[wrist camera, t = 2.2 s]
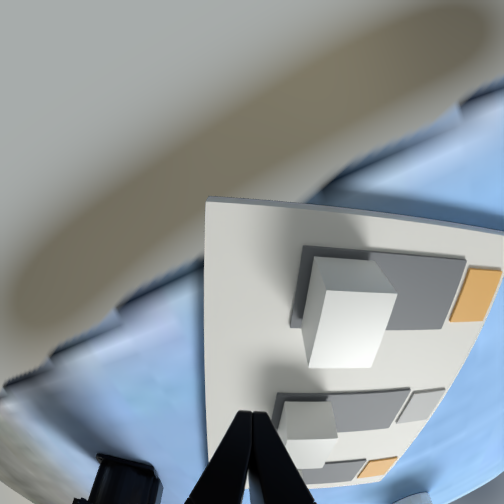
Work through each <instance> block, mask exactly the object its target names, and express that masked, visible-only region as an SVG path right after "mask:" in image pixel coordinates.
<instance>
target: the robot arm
mask: <svg viewBox="0 0 504 504" xmlns="http://www.w3.org/2000/svg"><path fill="white" fill-rule="evenodd" d="M96 459H97V460H98V462H99V463H100V466H99V469H98V472H97V475H96V478H95V481H94V484H93V487H92V490H91V493H90V496H89V499H88V501H87V500H86V499H84V498H82V497H81V499H77V498H74V500H73V503H72V504H160V503H161V497H162V492H163V486H162V483H161V481H160V479H159V478H158V476H157V474H156V471H155V469H154V468H153V467H152V466H148V465H143V464H138V463H134V462H129V461H125V460H121V459H117V458H113V457H109V456H106V455H102V454H97V455H96ZM247 474H248V481H249V491H250V501H251V504H317V503H316V502H314V498H313V496H312V495H311V493H310V491H309V489H308V488H307V486H306V484H305V482H304V480H303V479H302V477H301V475H300V473H299V471H298V470H297V468H296V466H295V464H294V462H293V460H292V459H291V457H290V455H289V453H288V451H287V449H286V448H285V446H284V444H283V442H282V440H281V438H280V436H279V434H278V432H277V430H276V429H275V427H274V425H273V423H272V421H271V419H270V417H269V415H268V413H267V412H265V411H253V413H252V412H251V411H248V410H239V411H238V412H237V413H236V415H235V417H234V419H233V421H232V422H231V424H230V426H229V428H228V430H227V431H226V433H225V435H224V437H223V439H222V440H221V442H220V444H219V446H218V447H217V449H216V451H215V453H214V454H213V456H212V458H211V460H210V461H209V463H208V465H207V467H206V468H205V470H204V472H203V473H202V475H201V477H200V479H199V480H198V482H197V484H196V485H195V487H194V489H193V490H192V492H191V494H190V495H189V497H190V498H187V500H186V501H185V503H184V504H242V500H243V495H244V490H245V485H246V480H247Z"/></svg>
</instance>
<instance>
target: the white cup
mask: <svg viewBox="0 0 504 504" xmlns="http://www.w3.org/2000/svg"><path fill="white" fill-rule="evenodd" d="M393 504H432V501H431V498H430V495H429V493H426V492H423V493H418V494H414V495H411V496H408V497H406V498H403V499H401V500H399V501H397V502H395V503H393Z"/></svg>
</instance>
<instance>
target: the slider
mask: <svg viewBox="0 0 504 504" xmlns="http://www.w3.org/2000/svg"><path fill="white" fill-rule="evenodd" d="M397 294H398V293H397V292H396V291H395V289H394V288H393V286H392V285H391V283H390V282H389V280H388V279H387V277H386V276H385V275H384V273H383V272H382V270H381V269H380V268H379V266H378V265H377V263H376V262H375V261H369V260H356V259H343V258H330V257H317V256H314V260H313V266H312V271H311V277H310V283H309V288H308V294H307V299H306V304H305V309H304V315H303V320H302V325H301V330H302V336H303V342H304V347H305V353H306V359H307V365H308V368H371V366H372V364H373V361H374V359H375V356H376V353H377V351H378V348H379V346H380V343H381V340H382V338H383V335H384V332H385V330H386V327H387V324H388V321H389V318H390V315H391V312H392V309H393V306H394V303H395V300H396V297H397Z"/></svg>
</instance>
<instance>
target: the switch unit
mask: <svg viewBox="0 0 504 504" xmlns="http://www.w3.org/2000/svg"><path fill="white" fill-rule="evenodd" d="M314 256H317V257H330V258H343V259H356V260H369V261H375V262H376V263H377V265H378V266H379V268H380V269H381V270H382V272H383V273H384V275H385V276H386V277H387V279H388V280H389V282H390V283H391V285H392V286H393V288H394V289H395V291H396V292H397V293H398V294H397V297H396V300H395V303H394V306H393V309H392V312H391V315H390V318H389V321H388V324H387V327H386V330H385V332H384V335H383V338H382V340H381V343H380V346H379V348H378V351H377V353H376V356H375V359H374V361H373V364H372V366H371V368H308V365H307V359H306V353H305V347H304V342H303V336H302V330H301V325H302V320H303V315H304V309H305V304H306V299H307V294H308V288H309V283H310V277H311V271H312V266H313V260H314ZM503 277H504V231H499V230H493V229H488V228H482V227H477V226H471V225H465V224H459V223H453V222H446V221H440V220H433V219H427V218H420V217H413V216H406V215H399V214H391V213H384V212H376V211H368V210H359V209H351V208H342V207H333V206H324V205H314V204H304V203H294V202H283V201H270V200H259V199H245V198H232V197H217V196H209V197H208V198H207V200H206V208H205V246H204V358H205V396H206V421H207V442H208V460H209V461H210V460H211V458H212V456H213V454H214V453H215V451H216V449H217V447H218V446H219V444H220V442H221V440H222V439H223V437H224V435H225V433H226V431H227V430H228V428H229V426H230V424H231V422H232V421H233V419H234V417H235V415H236V413H237V412H238V411H239V410H248V411H251V412H252V413H253V411H265V412H267V413H268V415H269V417H270V419H271V421H272V423H273V425H274V427H275V429H276V430H277V431H278V427H279V423H280V419H281V415H282V410H283V406H284V402H285V401H289V402H328V401H331V405H332V410H333V414H334V419H335V424H336V429H337V434H338V440H337V442H336V444H335V445H334V447H333V449H332V451H331V453H330V455H329V457H328V458H327V460H326V462H325V464H324V466H323V467H322V468H314V469H297V470H302V477H303V480H304V482H305V484H306V486H307V488H308V489H314V488H328V487H340V486H349V485H357V484H365V483H372V482H378V481H381V480H382V479H383V477H384V476H385V475H386V474H387V473H388V472H389V471H390V469H391V468H392V467H393V466H394V465H395V463H396V462H397V461H398V460H399V459H400V457H401V456H402V455H403V454H404V452H405V451H406V450H407V449H408V447H409V446H410V445H411V443H412V442H413V441H414V440H415V438H416V437H417V436H418V434H419V433H420V431H421V430H422V429H423V427H424V426H425V424H426V423H427V422H428V420H429V419H430V417H431V416H432V414H433V413H434V411H435V410H436V408H437V407H438V405H439V404H440V402H441V401H442V399H443V398H444V396H445V395H446V393H447V391H448V390H449V388H450V386H451V385H452V383H453V381H454V380H455V378H456V376H457V375H458V373H459V371H460V369H461V368H462V366H463V364H464V362H465V360H466V359H467V357H468V355H469V353H470V351H471V349H472V347H473V345H474V343H475V341H476V339H477V337H478V335H479V333H480V331H481V329H482V327H483V325H484V323H485V320H486V318H487V316H488V314H489V311H490V309H491V307H492V305H493V302H494V300H495V297H496V295H497V292H498V290H499V287H500V285H501V282H502V279H503ZM245 489H249V481H248V474H247V480H246V485H245Z"/></svg>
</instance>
